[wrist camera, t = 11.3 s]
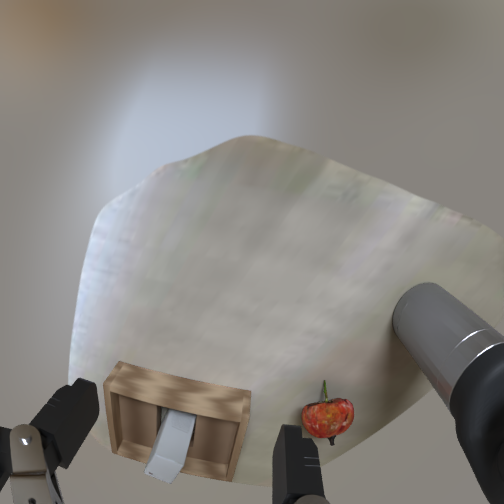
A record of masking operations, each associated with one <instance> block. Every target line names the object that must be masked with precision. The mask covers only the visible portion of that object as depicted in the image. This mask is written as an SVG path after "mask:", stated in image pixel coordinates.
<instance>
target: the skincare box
mask: <svg viewBox="0 0 504 504" xmlns="http://www.w3.org/2000/svg"><path fill="white" fill-rule="evenodd" d="M196 416H197V414H192V413H188V412H183V411H179V410H175V409H170V408H169V409H168V411H167V413H166V415H165V417H164V419H163V421H162V424H161V426H160V429H159V432H158V434H157V437H156V440H155V443H154V445H153V448H152V451H151V454H150V456H149V459H148V462H147V464H146V467H145V470H144V473H145V474H147V475H150V476H152V477H154V478H157V479H159V480H162V481H164V482H167V483H170V484H171V483H172V482H173V480H174V479H175V478H176V476H177V475H178V473H179V472H180V470H181V469H182V468H183V466H184V463H185V459H186V455H187V451H188V447H189V443H190V440H191V436H192V432H193V428H194V424H195V420H196Z"/></svg>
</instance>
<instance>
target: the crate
mask: <svg viewBox="0 0 504 504" xmlns="http://www.w3.org/2000/svg"><path fill="white" fill-rule="evenodd" d="M103 388H104V398H105V406H106V414H107V422H108V429H109V436H110V442H111V448H112V453H114V454H118V455H120V456H124V457H127V458H130V459H133V460H136V461H139V462H143V463H146V464H147V462H148V459H149V456H150V454H151V451H152V448H153V445H154V443H155V440H156V437H157V434H158V432H159V429H160V426H161V406H162V407H166V408H170V409H175V410H179V411H183V412H188V413H192V414H197V418H196V426H195V435H194V434H192V436H191V440H190V443H189V447H188V451H187V455H186V459H185V463H184V466H183V468H182V469H181V470H180V472H182V473H186V474H191V475H195V476H200V477H206V478H211V479H217V480H223V481H229V482H232V479H233V476H234V472H235V469H236V465H237V462H238V458H239V454H240V451H241V447H242V443H243V440H244V436H245V432H246V429H247V425H248V421H249V414H250V400H251V391H248V390H242V389H237V388H231V387H225V386H220V385H215V384H210V383H205V382H200V381H195V380H191V379H186V378H182V377H177V376H173V375H169V374H165V373H161V372H157V371H153V370H149V369H145V368H142V367H138V366H134V365H131V364H127V363H124V362H120V361H119V362H118V363H117V365H116V366H115V367H114V369H113V370H112V372H111V373H110V374H109V376H108V377H107V379H106V380H105V382H104V383H103Z"/></svg>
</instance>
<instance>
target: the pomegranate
mask: <svg viewBox="0 0 504 504" xmlns="http://www.w3.org/2000/svg"><path fill="white" fill-rule="evenodd" d="M324 393H325V401H322V402H318V403H311V404H309V405H306V406H305V407H304V408H303V411H302V423H303V425H304V427H305V428H306V430H307V431H308V432H309V433H310V434H311V435H313V436H315V437H318V438H326V437H327V438H328V439H329V441H330V445H331V446H333V445H335V444H334V438H335V437H336V435H339V434H341V433H343V432H344V431H346V430H347V429H348V428H349V426H350V425H351V424H352V422H353V419H354V408H353V405H352V403H351V402H350V401H349V400H347V399H341V398H336V399H332V400H330V401H328V397H327V391H326V382H325V380H324Z"/></svg>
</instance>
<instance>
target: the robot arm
mask: <svg viewBox="0 0 504 504" xmlns="http://www.w3.org/2000/svg"><path fill="white" fill-rule="evenodd" d="M393 328H394V331H395V333H396V335H397V336H398V337H399V339H400V340H401V342H402V343H403V344H404V346H405V347H406V349H407V350H408V352H409V353H410V354H411V356H412V357H413V359H414V360H415V361H416V363H417V364H418V366H419V367H420V369H421V370H422V371H423V373H424V374H425V376H426V377H427V379H428V380H429V381H430V383H431V384H432V386H433V387H434V389H435V390H436V392H437V393H438V395H439V396H440V398H441V399H442V400H443V402H444V403H445V405H446V407H447V408H448V410H449V411H450V412H451V414H452V416H453V417H454V419H455V423H456V434H457V438H458V441H459V443H460V445H461V447H462V449H463V451H464V453H465V455H466V457H467V459H468V461H469V463H470V466H471V468H472V470H473V472H474V474H475V476H476V478H477V481H478V483H479V485H480V487H481V489H482V491H483V493H484V495H485V496H486V498H487V500H488V501H489V503H490V504H504V336H503V335H502V334H500V333H499V332H498V331H497V330H495V329H494V328H493V327H492V326H491V325H489V324H488V323H487V322H486V321H484V320H483V319H482V318H481V317H479V316H478V315H477V314H476V313H474V312H473V311H472V310H471V309H469V308H468V307H467V306H465V305H464V304H463V303H462V302H460V301H459V300H458V299H456V298H455V297H454V296H453V295H451V294H450V293H449V292H447V291H446V290H445V289H443V288H442V287H441V286H439V285H437V284H434V283H423V284H419V285H417V286H415V287H413V288H411V289H410V290H409V291H408V292H406V293H405V294H404V296H403V297H402V298H401V299H400V301H399V302H398V304H397V306H396V308H395V311H394V315H393ZM98 415H99V401H98V394H97V387H96V384H95V383H94V382H91V381H88V380H85V379H82V378H78V379H77V380H76V381H75V382H74V384H73V385H72V386H69V385H65V386H64V387H62V388H60V389H58V390H57V391H56V392H55V394H54V395H53V396H52V398H50V399H49V401H48V402H47V404H45V405H44V407H43V408H42V409H41V410H40V412H39V413H38V414H37V415H36V416H35V418H34V419H33V420H32V421H31V423H30V424H29V425H27V424H21V425H18V426H16V427H14V428H13V429H9V428H4V427H0V491H1V490H2V488H3V486H4V485H5V483H6V481H7V480H8V478H9V476H10V484H11V490H12V496H13V502H14V504H64V501H63V497H62V494H61V490H60V487H59V483H58V479H57V475H56V472H55V470H56V469H57V467H58V466H60V467H63V468H65V469H67V468H68V467H69V465H70V463H71V461H72V460H73V458H74V456H75V455H76V453H77V451H78V450H79V448H80V446H81V445H82V443H83V442H84V440H85V438H86V437H87V435H88V433H89V432H90V430H91V428H92V427H93V425H94V424H95V422H96V420H97V418H98ZM11 473H12V474H11ZM272 497H273V498H272V500H273V504H330V503H329V501H328V500H326V498H325V495H324V489H323V482H322V476H321V468H320V461H319V455H318V448H317V446H316V445H315V443H314V442H313V440H312V439H311V438H302V430H301V426H296V425H285V424H283V425H282V426H281V429H280V432H279V435H278V438H277V441H276V444H275V447H274V451H273V495H272Z"/></svg>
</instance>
